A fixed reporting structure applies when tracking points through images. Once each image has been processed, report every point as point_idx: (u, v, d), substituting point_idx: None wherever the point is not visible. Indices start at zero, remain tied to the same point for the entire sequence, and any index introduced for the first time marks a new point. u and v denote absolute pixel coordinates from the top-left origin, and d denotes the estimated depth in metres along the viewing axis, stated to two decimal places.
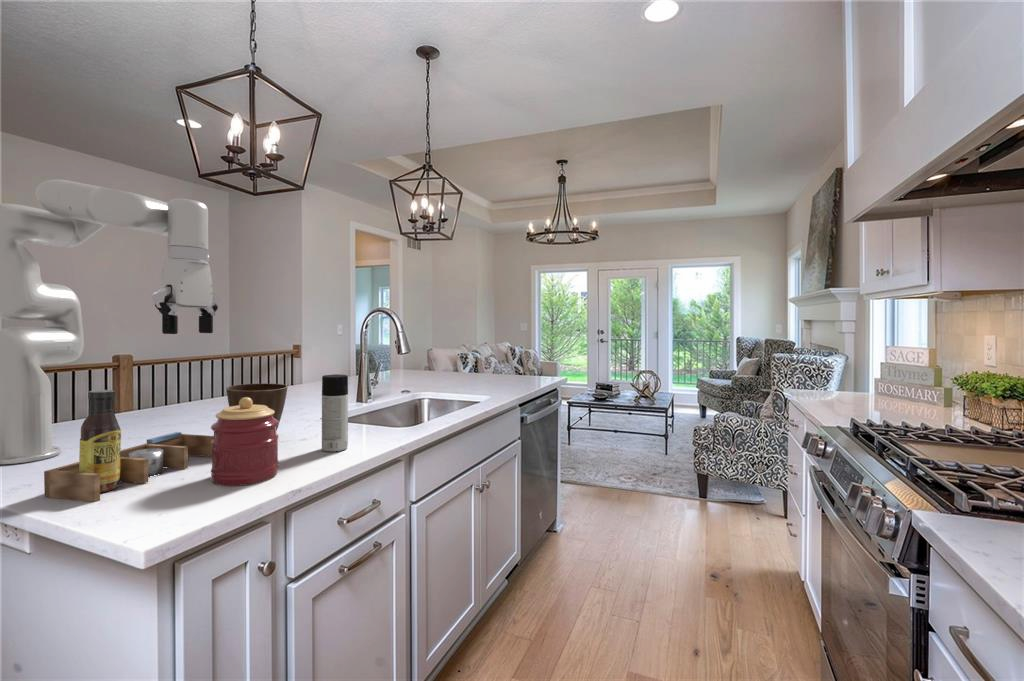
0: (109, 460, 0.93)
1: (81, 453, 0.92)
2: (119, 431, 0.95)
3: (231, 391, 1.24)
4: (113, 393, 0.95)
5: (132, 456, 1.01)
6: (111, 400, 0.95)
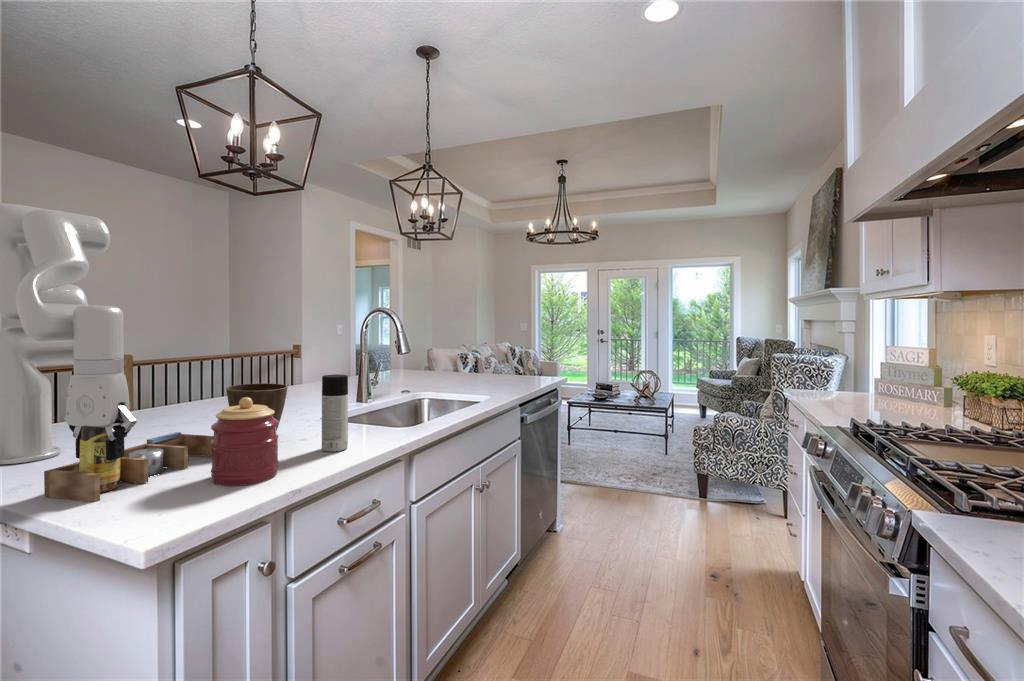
0: None
1: (81, 453, 0.92)
2: None
3: (231, 391, 1.24)
4: None
5: (132, 456, 1.01)
6: None
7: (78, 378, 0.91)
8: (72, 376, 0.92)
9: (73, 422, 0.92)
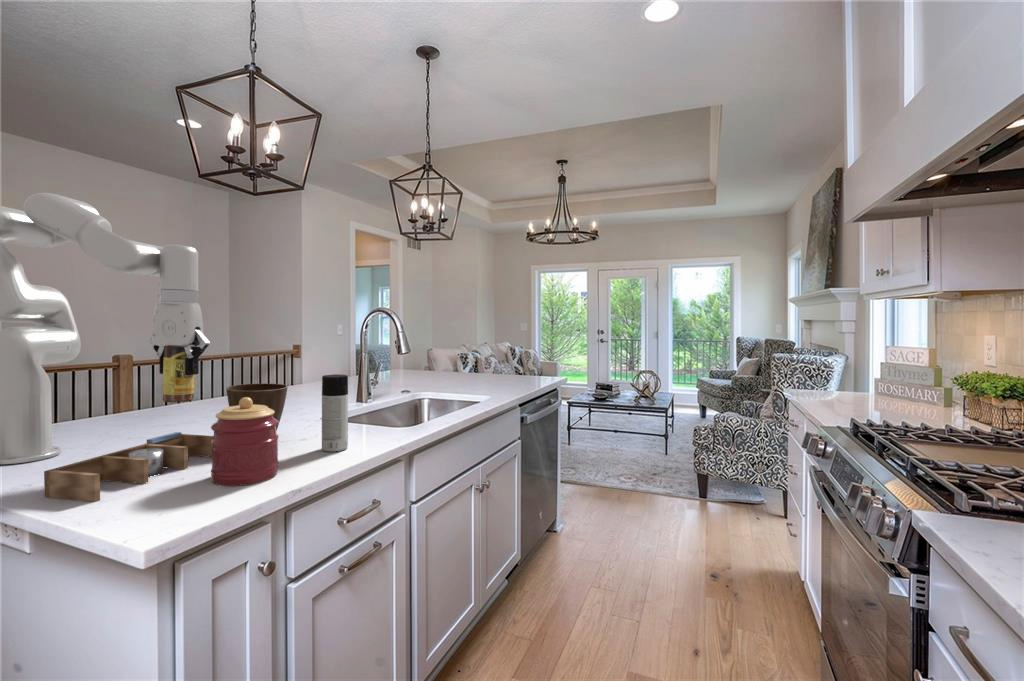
0: (187, 375, 1.11)
1: (165, 368, 1.10)
2: None
3: (231, 391, 1.24)
4: None
5: (132, 456, 1.01)
6: None
7: (163, 305, 1.09)
8: (157, 304, 1.10)
9: (158, 342, 1.10)
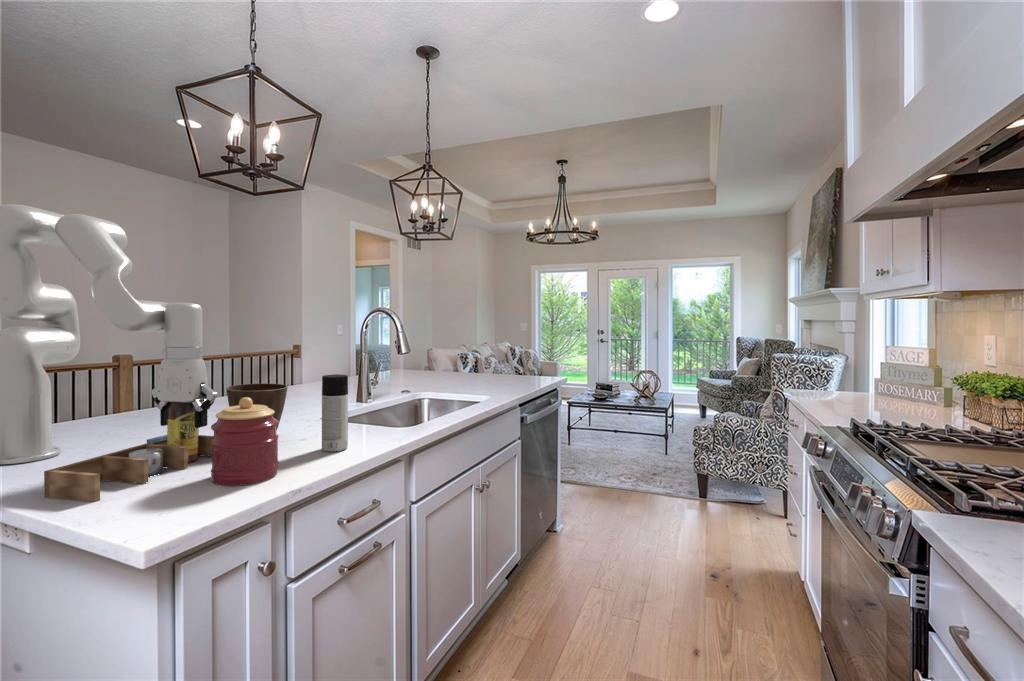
0: (191, 436, 1.13)
1: (169, 430, 1.11)
2: None
3: (231, 391, 1.24)
4: None
5: (132, 456, 1.01)
6: None
7: (168, 362, 1.11)
8: (162, 361, 1.12)
9: (163, 398, 1.11)
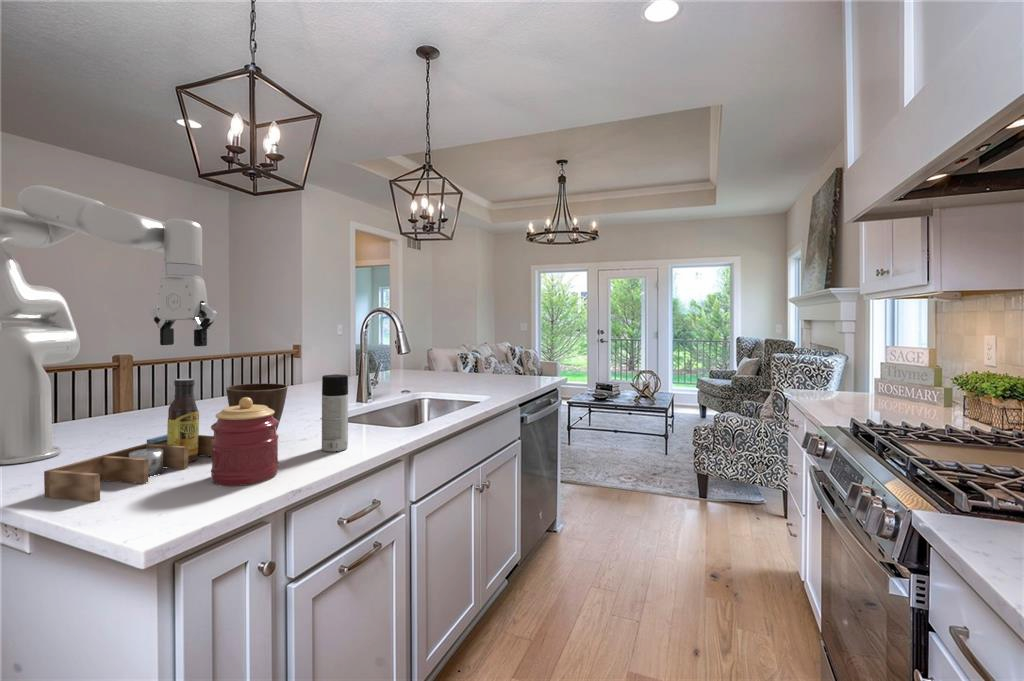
0: (191, 436, 1.13)
1: (169, 430, 1.11)
2: (198, 413, 1.15)
3: (231, 391, 1.24)
4: (193, 381, 1.15)
5: (132, 456, 1.01)
6: (192, 387, 1.14)
7: (167, 279, 1.10)
8: (162, 278, 1.11)
9: (163, 316, 1.11)
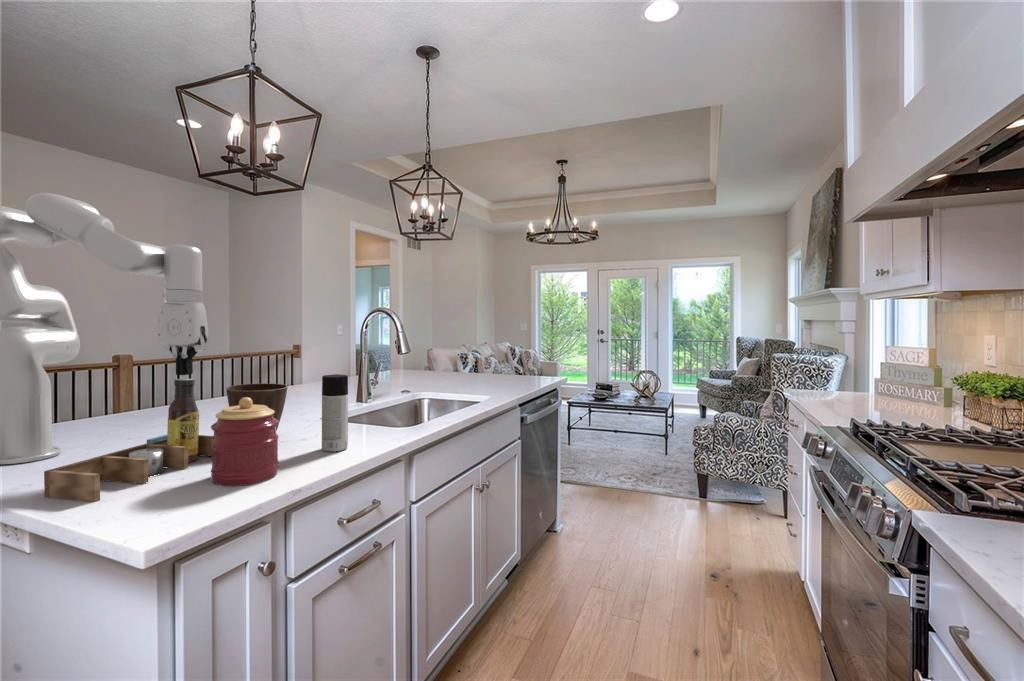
0: (191, 436, 1.13)
1: (169, 430, 1.11)
2: (198, 413, 1.15)
3: (231, 391, 1.24)
4: (193, 381, 1.15)
5: (132, 456, 1.01)
6: (192, 387, 1.14)
7: (168, 305, 1.11)
8: (162, 304, 1.11)
9: (163, 341, 1.11)
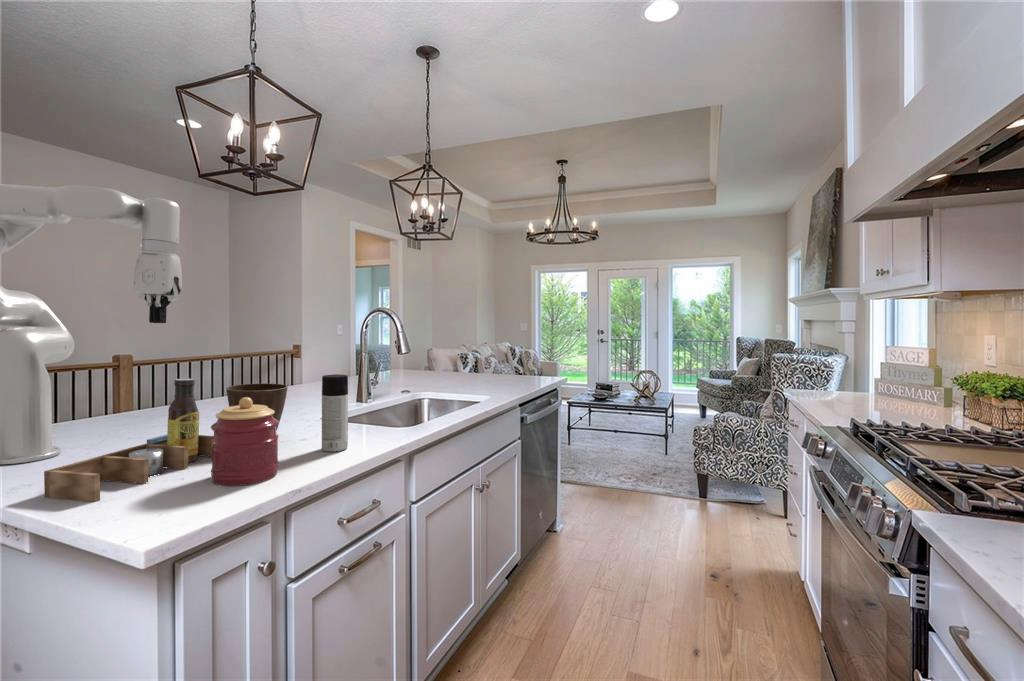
0: (191, 436, 1.13)
1: (169, 430, 1.11)
2: (198, 413, 1.15)
3: (231, 391, 1.24)
4: (193, 381, 1.15)
5: (132, 456, 1.01)
6: (192, 387, 1.14)
7: (144, 255, 1.16)
8: (139, 254, 1.16)
9: (138, 289, 1.16)
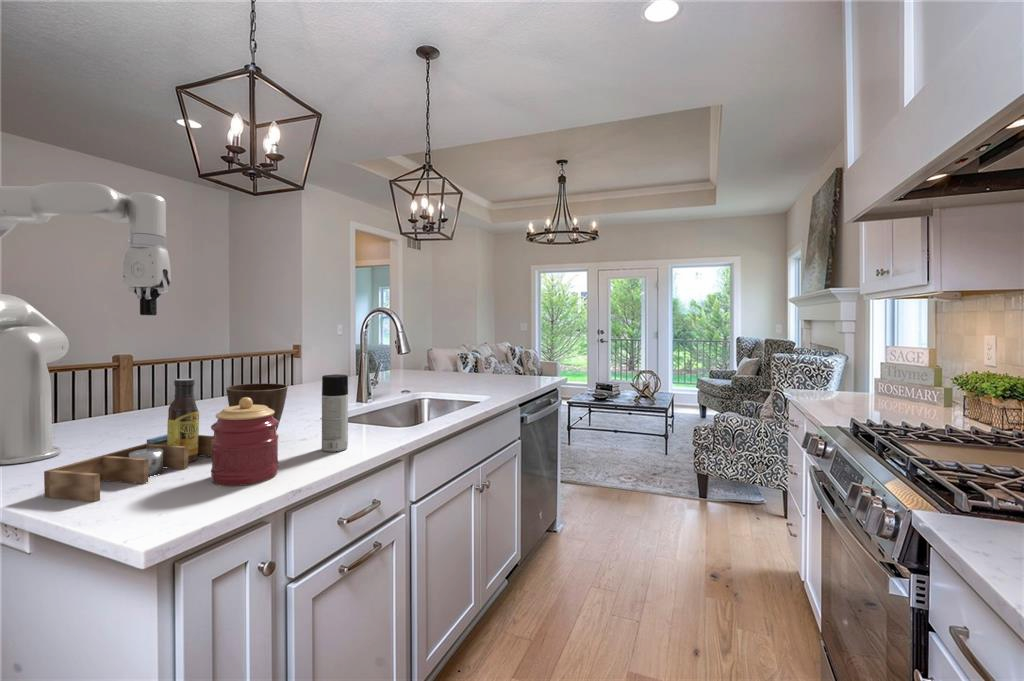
0: (191, 436, 1.13)
1: (169, 430, 1.11)
2: (198, 413, 1.15)
3: (231, 391, 1.24)
4: (193, 381, 1.15)
5: (132, 456, 1.01)
6: (192, 387, 1.14)
7: (132, 249, 1.18)
8: (127, 248, 1.19)
9: (128, 283, 1.19)
